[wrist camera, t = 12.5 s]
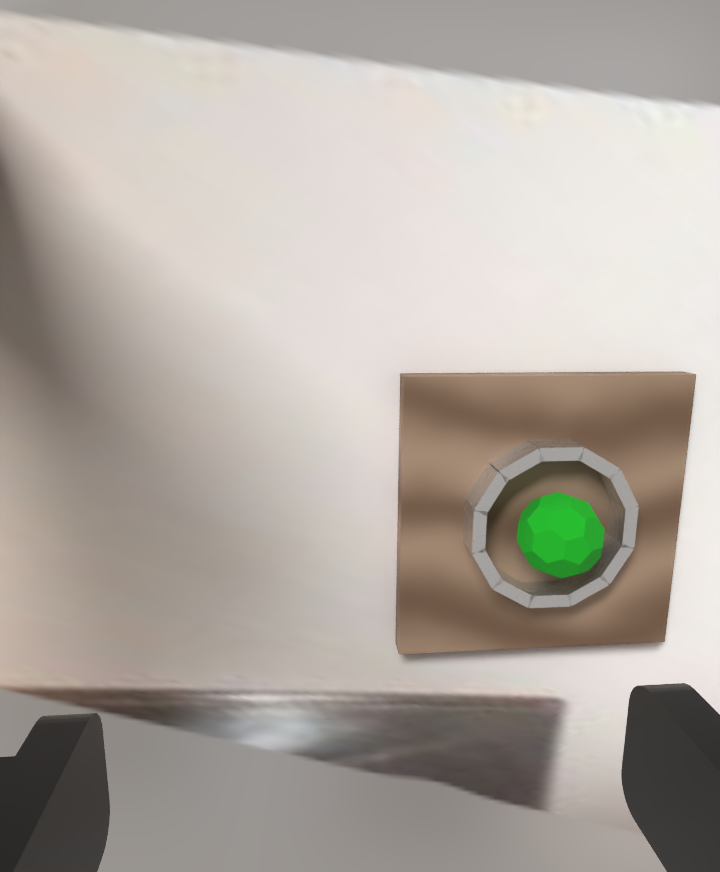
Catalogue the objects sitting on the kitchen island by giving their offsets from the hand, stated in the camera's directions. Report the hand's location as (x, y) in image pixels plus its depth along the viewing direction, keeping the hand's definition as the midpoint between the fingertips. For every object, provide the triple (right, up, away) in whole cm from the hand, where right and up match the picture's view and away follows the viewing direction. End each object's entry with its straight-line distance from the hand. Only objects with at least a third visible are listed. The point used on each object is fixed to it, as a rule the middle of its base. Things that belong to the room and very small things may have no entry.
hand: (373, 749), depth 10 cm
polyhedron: (+11, -1, +31) cm, 33 cm away
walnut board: (+11, 0, +32) cm, 34 cm away
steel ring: (+11, 0, +31) cm, 33 cm away
